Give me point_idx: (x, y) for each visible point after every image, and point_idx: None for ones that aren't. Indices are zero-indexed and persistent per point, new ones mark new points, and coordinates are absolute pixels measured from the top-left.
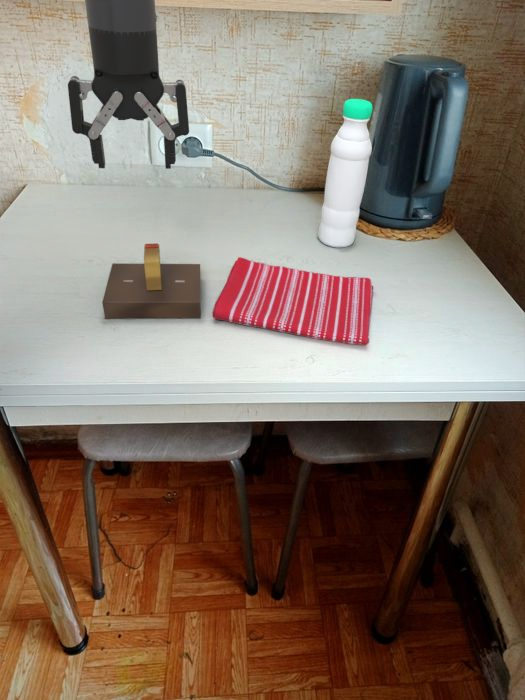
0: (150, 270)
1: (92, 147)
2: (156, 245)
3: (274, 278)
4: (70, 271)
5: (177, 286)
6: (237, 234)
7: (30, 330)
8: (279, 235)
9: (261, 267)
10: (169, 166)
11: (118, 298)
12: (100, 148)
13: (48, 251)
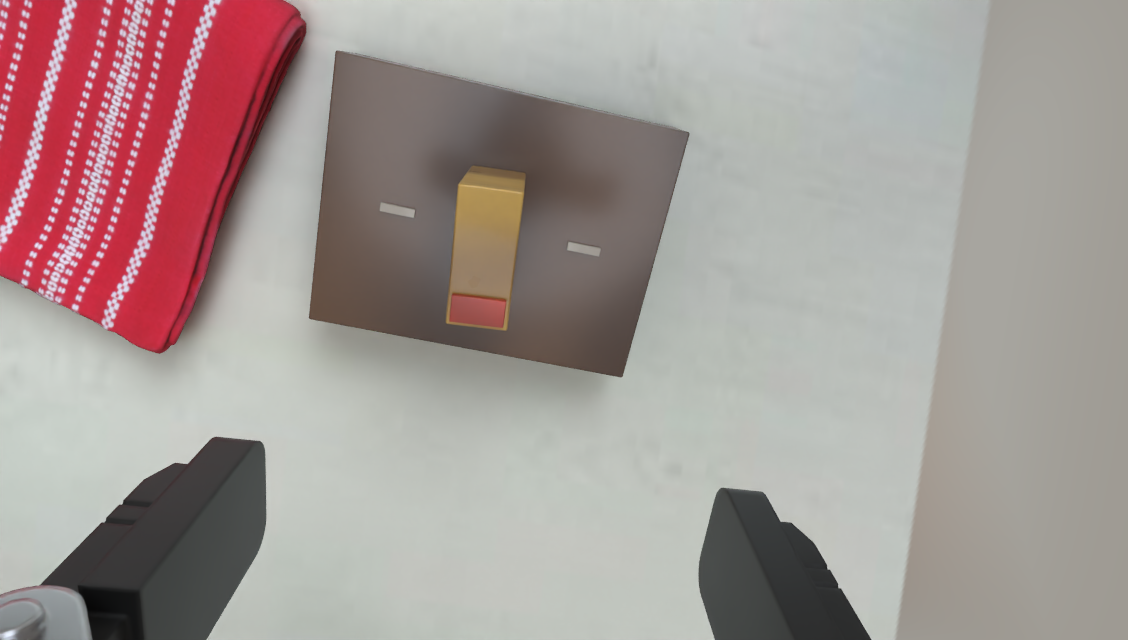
0: (502, 181)
1: (840, 615)
2: (457, 305)
3: (34, 214)
4: (742, 421)
5: (411, 178)
6: None
7: (901, 118)
8: (5, 529)
9: (76, 285)
10: (220, 438)
11: (631, 144)
12: (781, 584)
13: None
